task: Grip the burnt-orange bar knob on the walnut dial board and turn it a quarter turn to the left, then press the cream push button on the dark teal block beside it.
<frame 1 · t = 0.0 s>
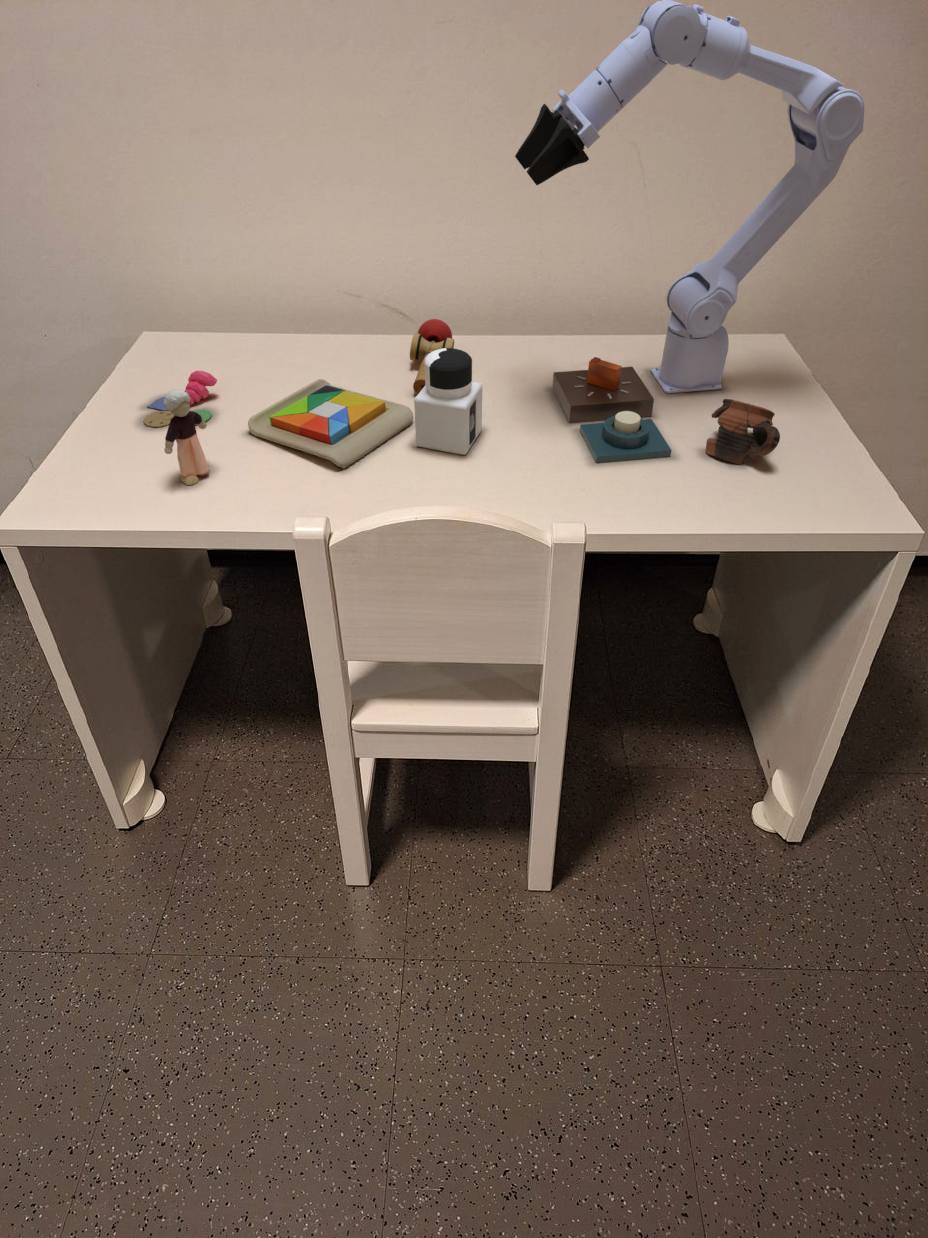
hand: (525, 170, 108), 32 cm above the table, tool tilted 50°, fingers open, 7 cm apart
grandmother figurine: (197, 475, 113), on the table
wooden puzzle: (332, 428, 123), on the table
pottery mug: (739, 452, 117), on the table
container: (449, 439, 120), on the table
dial knob: (604, 373, 124), point 5 cm above the table, hinge at -45.0°
dial board: (600, 402, 128), on the table
kendama: (431, 371, 136), on the table
button: (627, 422, 116), point 4 cm above the table, slide at 0.2 cm
button block: (623, 444, 119), on the table
toy pieces: (181, 410, 127), on the table
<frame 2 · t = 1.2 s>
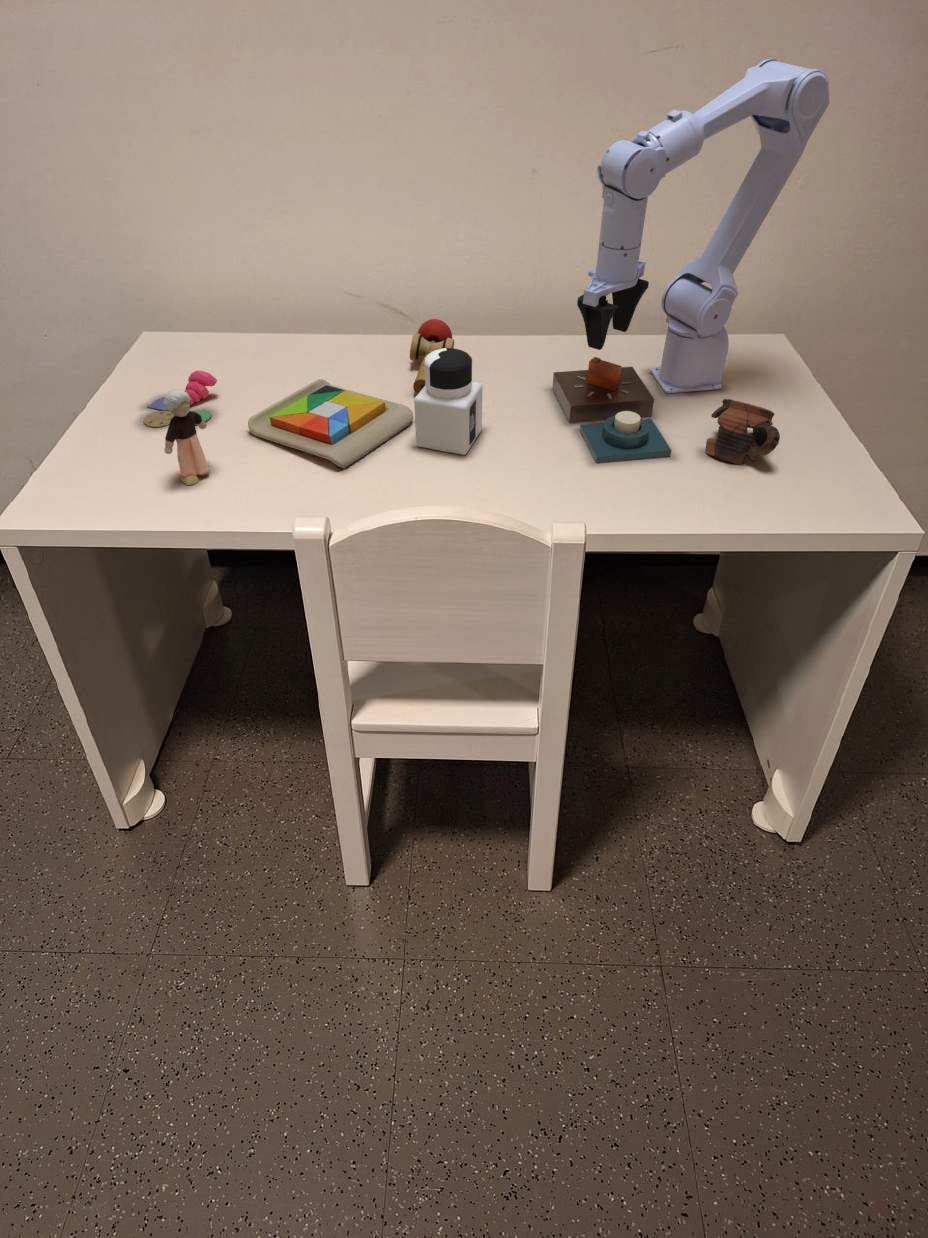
hand: (607, 338, 121), 10 cm above the table, tool pointing down, fingers open, 7 cm apart
nothing on the table moved.
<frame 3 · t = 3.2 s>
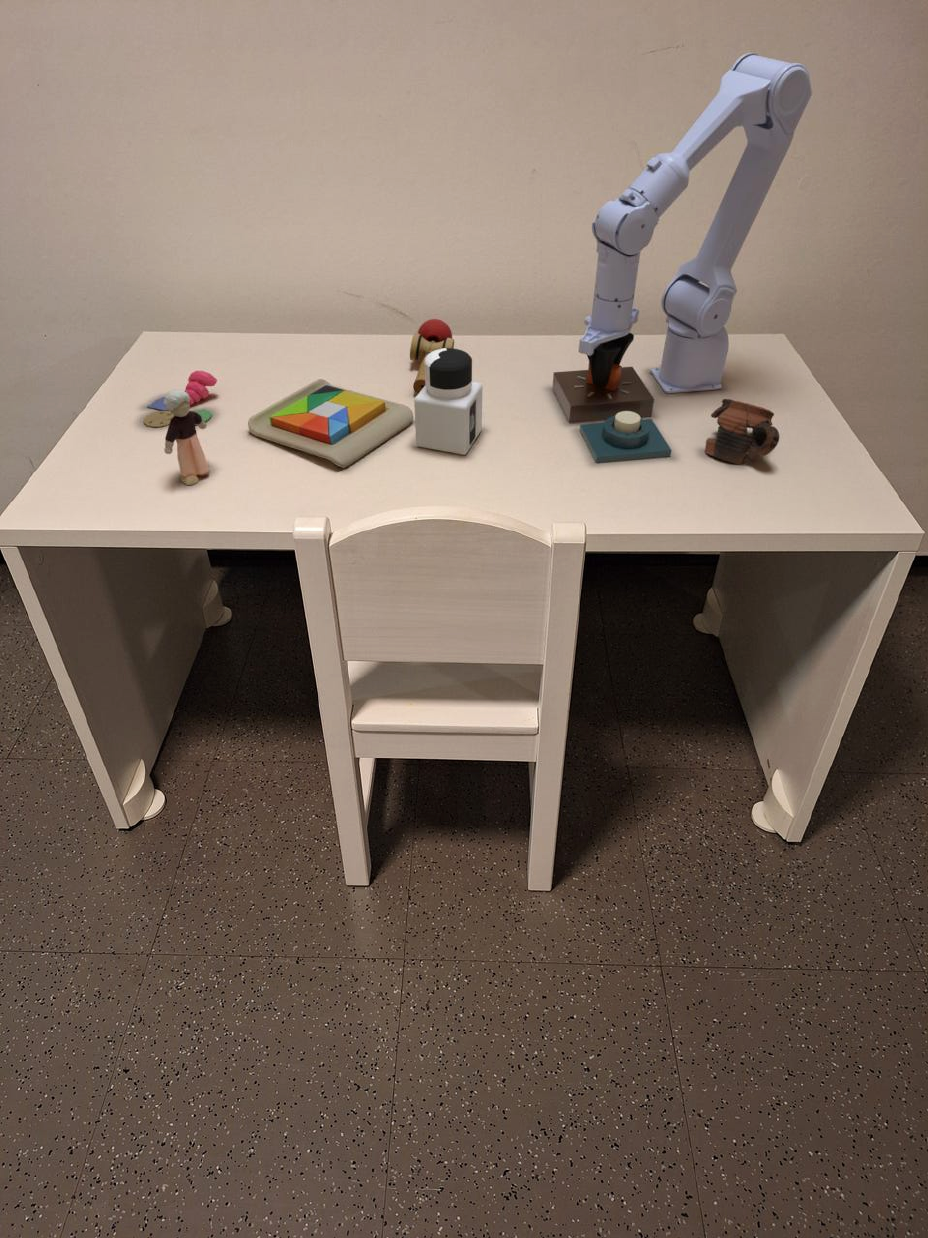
hand: (603, 382, 125), 4 cm above the table, tool pointing down, fingers closed on dial knob, 2 cm apart
dial knob: (604, 373, 124), point 5 cm above the table, hinge at -45.1°, touching gripper
everything else where it was.
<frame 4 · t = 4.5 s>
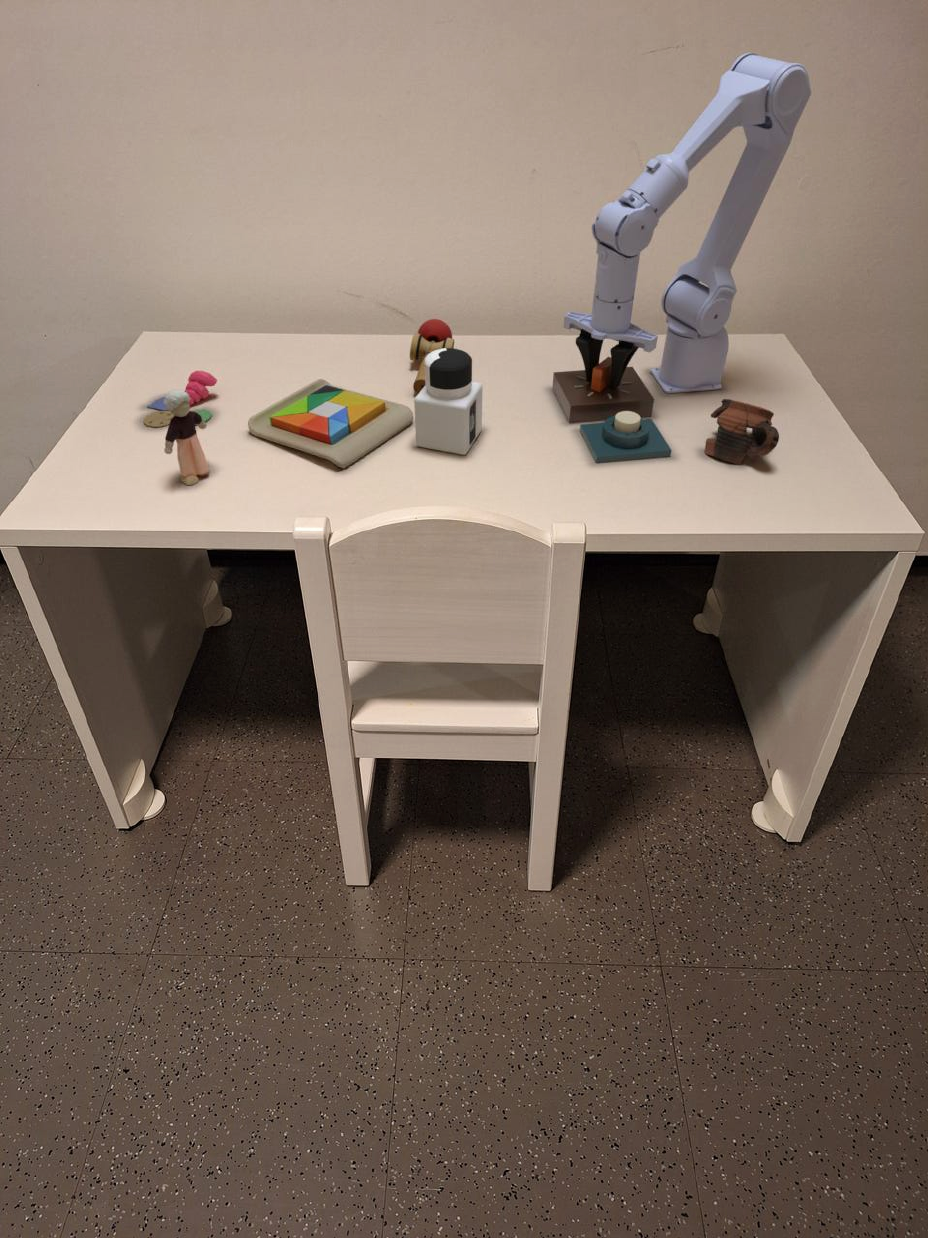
hand: (602, 383, 126), 3 cm above the table, tool pointing down, fingers open, 3 cm apart
dial knob: (604, 373, 124), point 5 cm above the table, hinge at 45.0°
everything else where it was.
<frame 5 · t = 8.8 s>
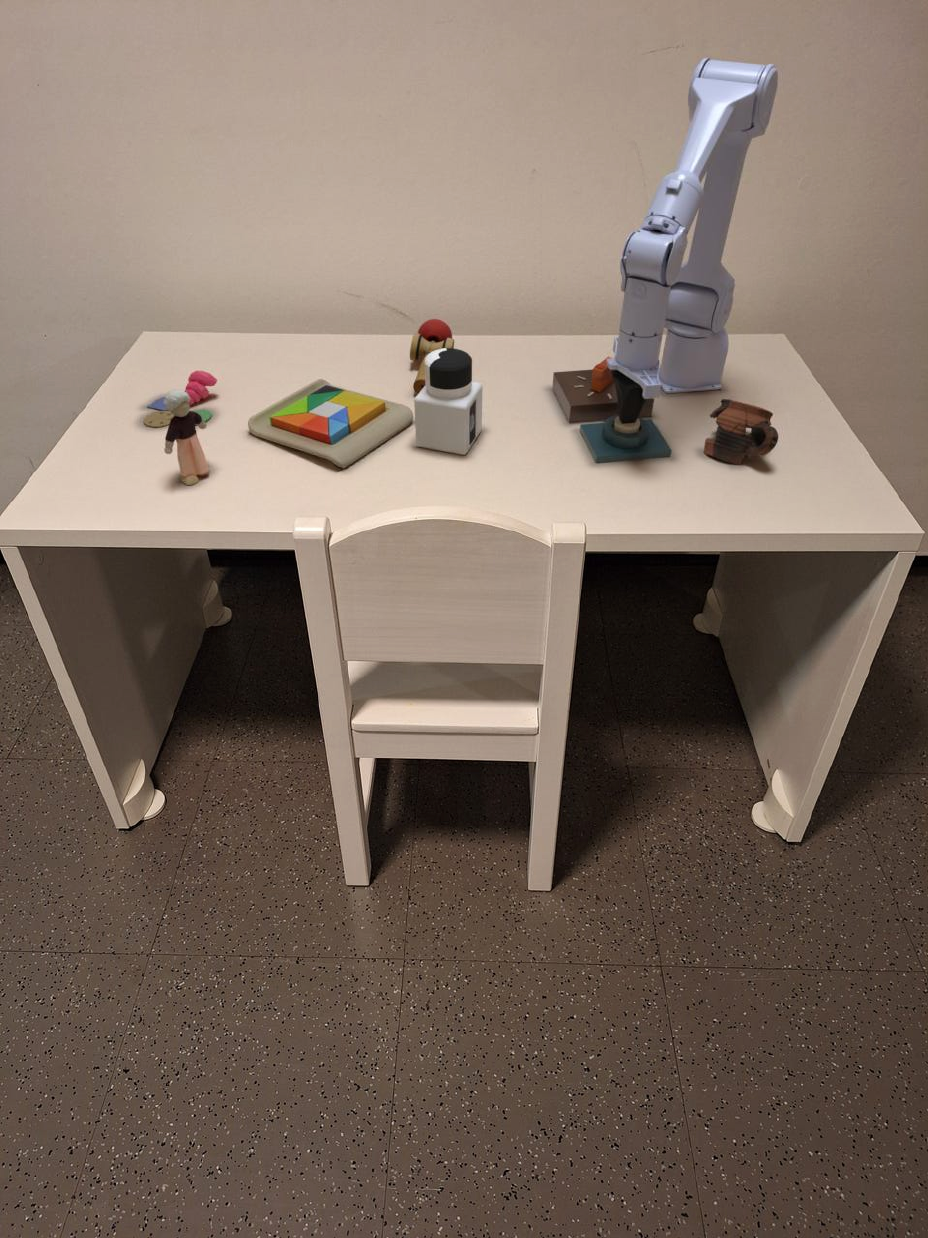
hand: (627, 420, 116), 4 cm above the table, tool pointing down, fingers closed, pressing on button
button: (626, 426, 117), point 3 cm above the table, slide at -0.4 cm, touching gripper
everything else where it was.
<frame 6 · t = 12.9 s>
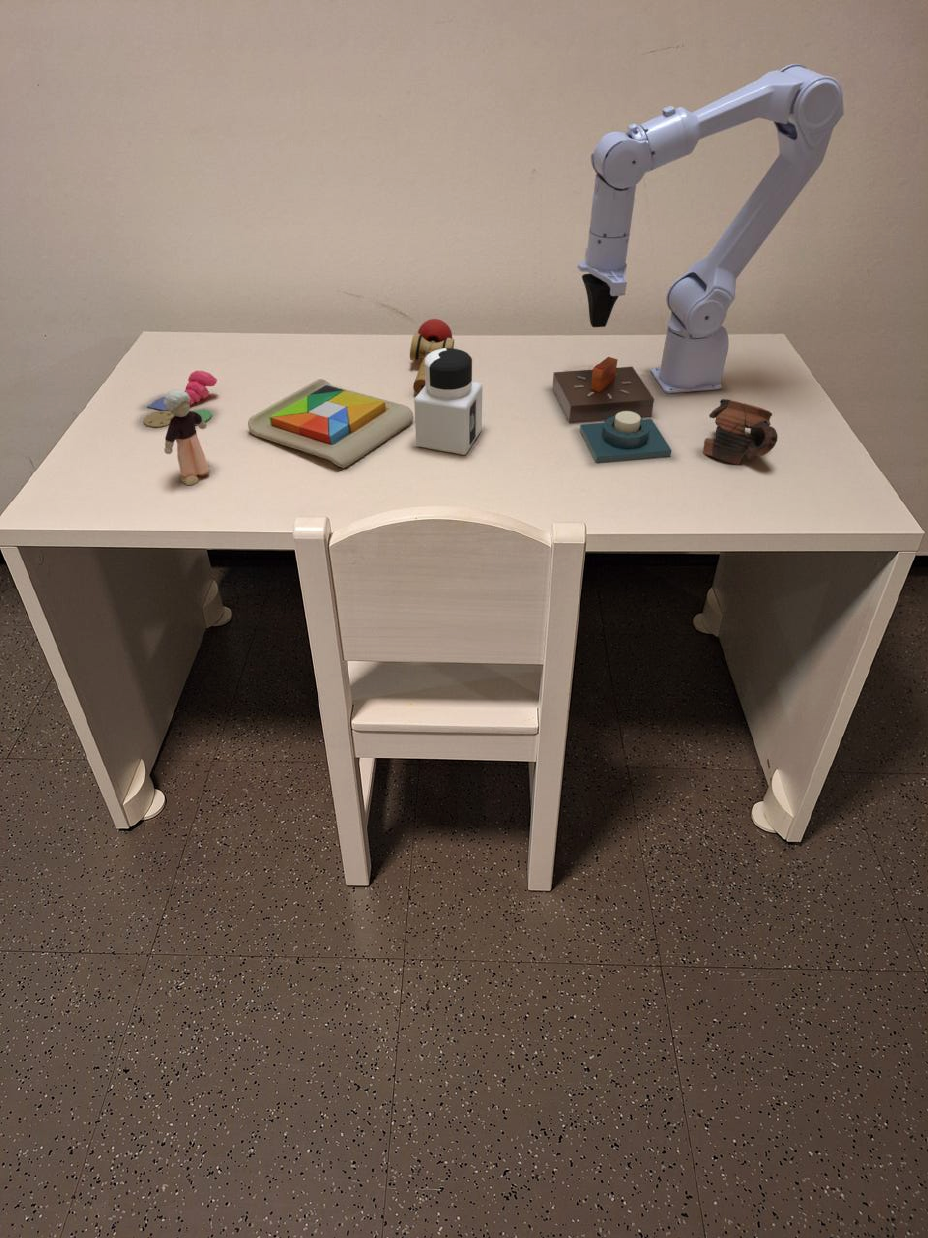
hand: (597, 325, 124), 10 cm above the table, tool pointing down, fingers closed
button: (627, 422, 116), point 4 cm above the table, slide at 0.2 cm
everything else where it was.
at the end: dial knob at +45° (first picture: -45°); button pushed in 1.1 cm at the most during the clip, back to 0.2 cm at the end; button slide at 0.2 cm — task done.
